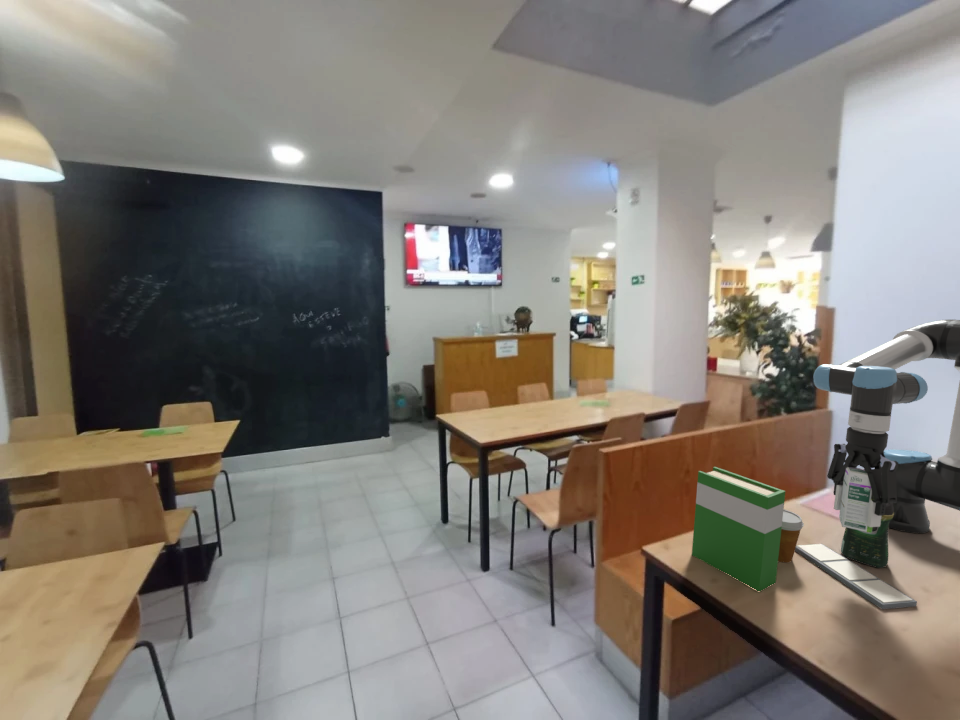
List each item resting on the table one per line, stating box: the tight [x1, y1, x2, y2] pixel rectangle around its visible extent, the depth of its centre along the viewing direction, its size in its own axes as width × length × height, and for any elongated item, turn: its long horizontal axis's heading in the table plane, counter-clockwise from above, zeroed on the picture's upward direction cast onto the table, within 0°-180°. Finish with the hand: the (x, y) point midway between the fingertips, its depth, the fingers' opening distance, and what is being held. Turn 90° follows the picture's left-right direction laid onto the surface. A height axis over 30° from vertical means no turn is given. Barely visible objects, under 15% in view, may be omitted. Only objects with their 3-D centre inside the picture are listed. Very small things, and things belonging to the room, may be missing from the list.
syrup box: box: [838, 467, 874, 533], centre depth 107 cm, size 6×6×14 cm
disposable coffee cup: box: [778, 508, 805, 563], centre depth 117 cm, size 10×10×12 cm
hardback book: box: [691, 466, 786, 592], centre depth 111 cm, size 18×7×24 cm, turn 29°
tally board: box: [794, 543, 918, 610], centre depth 110 cm, size 9×24×1 cm, turn 7°
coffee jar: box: [840, 496, 894, 569], centre depth 116 cm, size 10×8×19 cm
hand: (855, 517), depth 108 cm, fingers closed on syrup box, 8 cm apart
